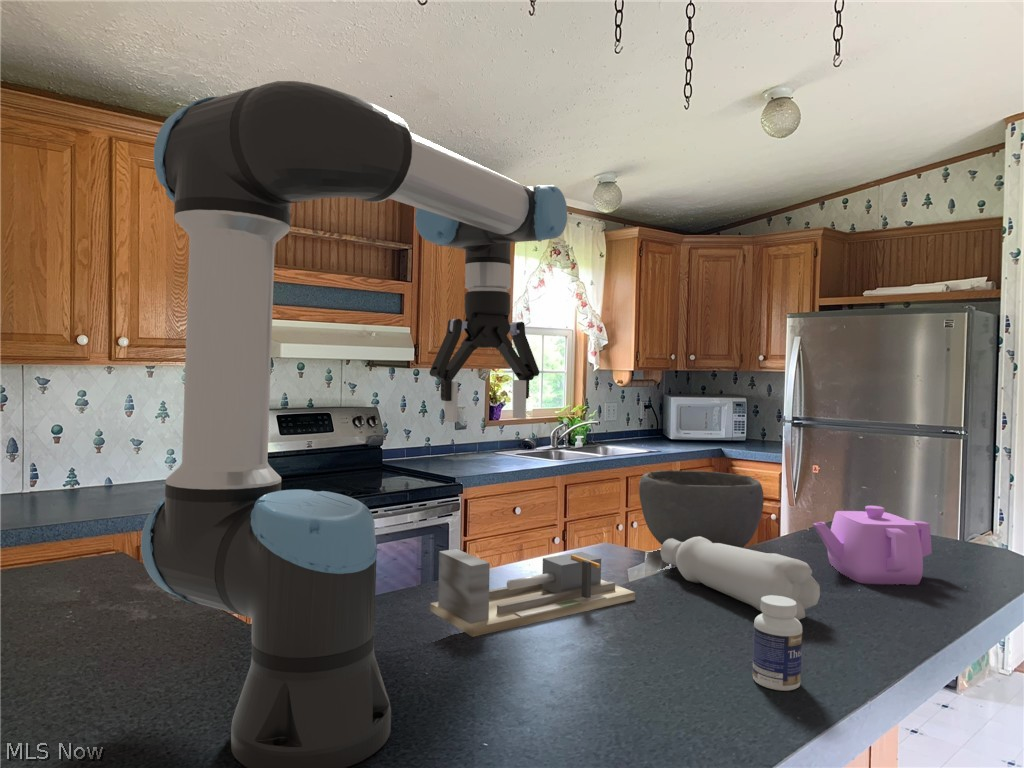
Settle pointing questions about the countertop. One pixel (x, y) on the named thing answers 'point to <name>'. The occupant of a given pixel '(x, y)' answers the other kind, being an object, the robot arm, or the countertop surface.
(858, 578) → the teakettle
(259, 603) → the robot arm
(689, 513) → the bowl
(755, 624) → the pill bottle
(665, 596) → the countertop surface
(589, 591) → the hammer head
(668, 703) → the countertop surface
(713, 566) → the bottle
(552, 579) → the sliding vise jaw
